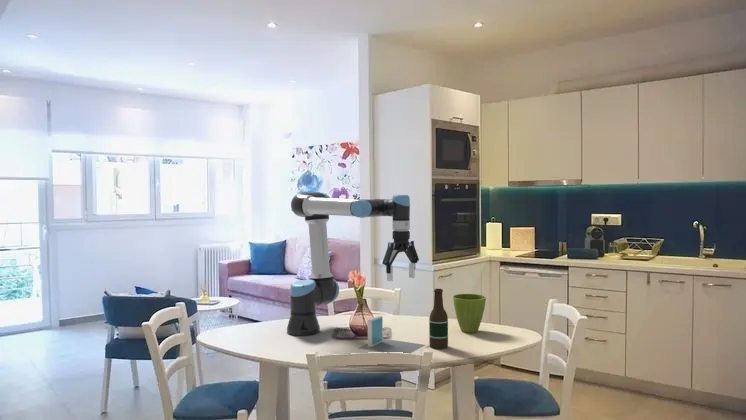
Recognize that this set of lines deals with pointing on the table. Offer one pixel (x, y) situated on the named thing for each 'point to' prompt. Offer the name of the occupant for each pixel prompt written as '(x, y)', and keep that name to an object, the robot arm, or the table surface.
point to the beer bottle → (438, 323)
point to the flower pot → (469, 311)
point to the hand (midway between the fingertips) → (401, 279)
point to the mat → (393, 346)
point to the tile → (375, 330)
